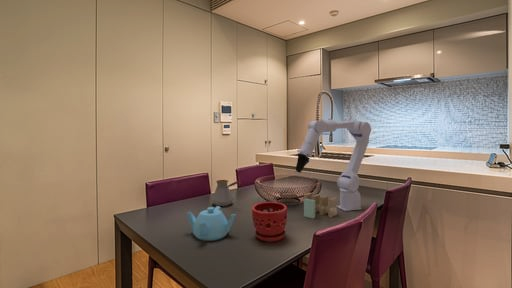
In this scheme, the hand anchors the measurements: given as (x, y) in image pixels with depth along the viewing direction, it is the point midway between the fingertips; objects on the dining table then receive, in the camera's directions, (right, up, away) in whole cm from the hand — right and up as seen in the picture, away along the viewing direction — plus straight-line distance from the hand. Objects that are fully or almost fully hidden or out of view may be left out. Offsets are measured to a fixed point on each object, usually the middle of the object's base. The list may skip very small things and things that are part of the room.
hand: (297, 171), depth 131 cm
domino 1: (+7, -20, +11) cm, 24 cm away
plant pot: (-14, -23, -23) cm, 36 cm away
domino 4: (+16, -21, +1) cm, 26 cm away
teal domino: (+5, -21, 0) cm, 22 cm away
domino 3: (+13, -21, +4) cm, 25 cm away
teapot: (-37, -23, -20) cm, 48 cm away
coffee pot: (-34, -20, +18) cm, 44 cm away
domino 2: (+10, -20, +8) cm, 24 cm away
